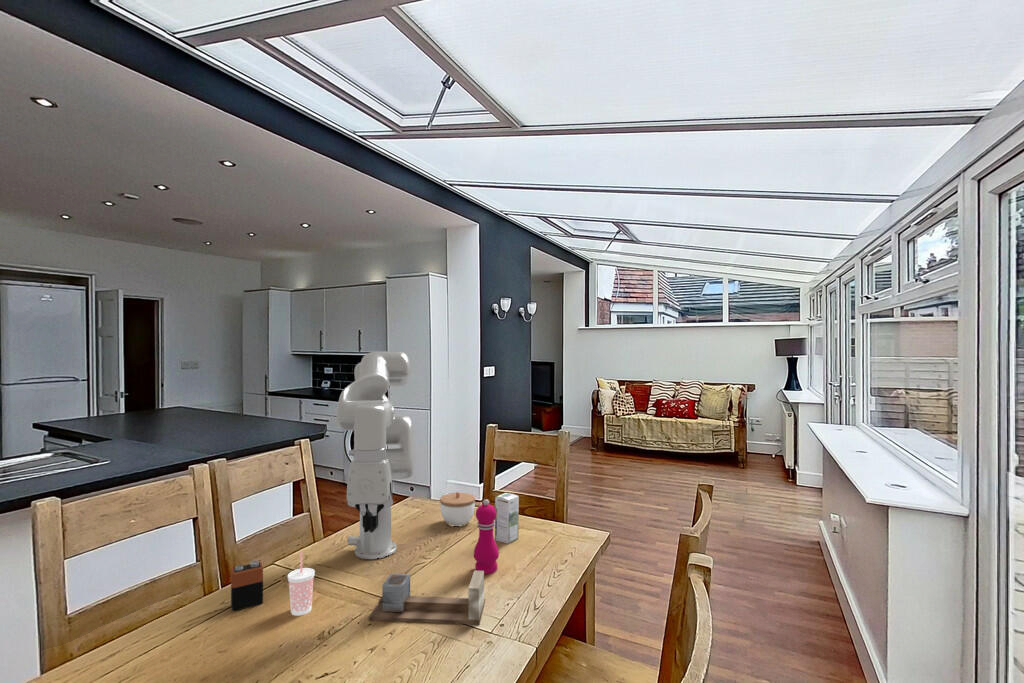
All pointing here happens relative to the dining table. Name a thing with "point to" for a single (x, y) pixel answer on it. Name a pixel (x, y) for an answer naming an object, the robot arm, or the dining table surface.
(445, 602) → the rail
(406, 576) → the block
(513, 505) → the syrup box
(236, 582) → the battery
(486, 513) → the pepper mill
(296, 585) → the beverage cup
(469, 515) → the lidded bowl
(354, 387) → the robot arm
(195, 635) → the dining table surface
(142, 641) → the dining table surface
